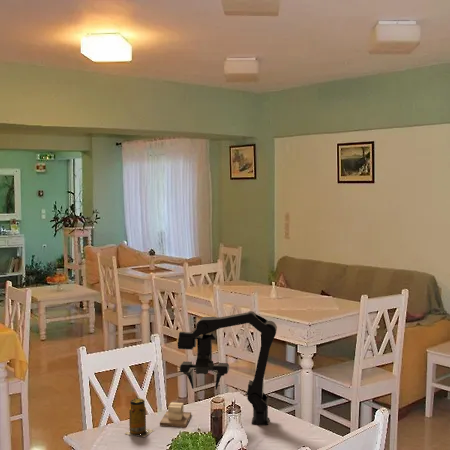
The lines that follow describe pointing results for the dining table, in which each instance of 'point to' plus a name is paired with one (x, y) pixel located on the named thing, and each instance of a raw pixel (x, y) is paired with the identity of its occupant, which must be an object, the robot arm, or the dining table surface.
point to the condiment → (138, 418)
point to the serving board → (175, 423)
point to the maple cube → (175, 411)
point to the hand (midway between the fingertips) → (204, 389)
